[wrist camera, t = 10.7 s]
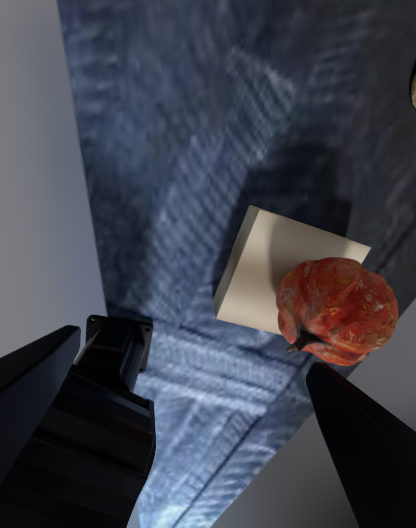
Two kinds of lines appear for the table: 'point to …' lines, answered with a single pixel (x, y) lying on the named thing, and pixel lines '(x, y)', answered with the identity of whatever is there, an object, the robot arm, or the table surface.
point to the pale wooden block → (271, 265)
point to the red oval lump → (335, 310)
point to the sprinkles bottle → (413, 91)
